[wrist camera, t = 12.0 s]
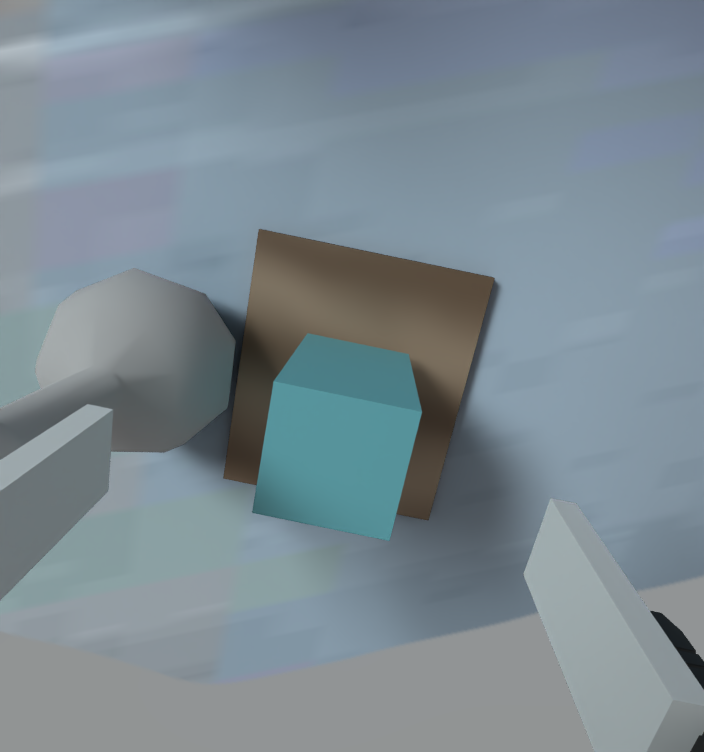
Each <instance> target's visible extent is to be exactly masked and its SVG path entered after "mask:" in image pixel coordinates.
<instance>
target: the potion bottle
mask: <svg viewBox="0 0 704 752" xmlns="http://www.w3.org/2000/svg"><path fill="white" fill-rule="evenodd" d="M235 343H236V341H235V339H234V337H233V336H232V334H231V333H230V331H229V330H228V328H227V327H226V325H225V323H224V322H223V320H222V319H221V317H220V316H219V314H218V313H217V311H216V310H215V308H214V306H213V305H212V303H211V302H210V300H209V299H208V297H207V296H206V294H204V293H201V292H199V291H196V290H193V289H191V288H188V287H185V286H182V285H180V284H177V283H174V282H171V281H169V280H166V279H163V278H160V277H158V276H155V275H152V274H149V273H147V272H144V271H141V270H138V269H136V268H133V269H130V270H128V271H125V272H123V273H120V274H117V275H115V276H112V277H110V278H107V279H105V280H102V281H100V282H97V283H95V284H92V285H90V286H87V287H85V288H82V289H80V290H77V291H75V292H74V293H73V294H72V295H70V296H69V297H68V298H67V299H65V300H64V301H63V302H62V303H60V304H59V305H58V307H57V310H56V312H55V315H54V317H53V320H52V322H51V325H50V327H49V330H48V332H47V335H46V337H45V340H44V342H43V345H42V347H41V349H40V352H39V354H38V357H37V361H36V368H35V373H36V376H37V379H38V382H39V385H40V388H41V389H39V390H37V391H35V392H33V393H31V394H29V395H27V396H24V397H22V398H20V399H18V400H16V401H14V402H12V403H10V404H7V405H5V406H3V407H1V408H0V460H1V459H3V458H4V457H6V456H7V455H9V454H11V453H12V452H14V451H15V450H17V449H18V448H20V447H21V446H23V445H25V444H26V443H28V442H29V441H31V440H32V439H34V438H35V437H37V436H39V435H40V434H42V433H43V432H45V431H46V430H48V429H49V428H51V427H53V426H54V425H56V424H57V423H59V422H60V421H62V420H63V419H65V418H67V417H68V416H70V415H71V414H73V413H74V412H76V411H77V410H79V409H81V408H82V407H84V406H85V405H87V404H89V405H94V406H99V407H104V408H109V409H113V422H112V438H111V451H113V452H166V451H169V450H171V449H174V448H176V447H179V446H181V445H183V444H185V443H186V442H187V441H189V440H190V439H191V438H192V437H193V436H195V435H196V434H197V433H198V432H199V431H201V430H202V429H203V428H204V427H205V426H206V425H208V424H209V423H210V422H211V421H212V420H214V419H215V418H216V417H217V416H218V415H220V414H221V413H222V412H223V411H224V410H226V409H227V408H228V402H229V395H230V388H231V379H232V370H233V361H234V352H235Z"/></svg>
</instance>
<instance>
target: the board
mask: <svg viewBox="0 0 704 752" xmlns="http://www.w3.org/2000/svg"><path fill="white" fill-rule="evenodd" d="M493 282H494V278H493V277H489V276H484V275H479V274H474V273H470V272H465V271H460V270H455V269H450V268H445V267H441V266H436V265H431V264H426V263H421V262H417V261H412V260H407V259H402V258H397V257H392V256H388V255H383V254H378V253H373V252H368V251H363V250H359V249H354V248H349V247H344V246H339V245H335V244H330V243H325V242H320V241H315V240H310V239H306V238H301V237H296V236H291V235H286V234H281V233H277V232H272V231H267V230H262V229H259V232H258V239H257V246H256V253H255V260H254V267H253V274H252V281H251V288H250V295H249V302H248V309H247V316H246V323H245V330H244V337H243V344H242V351H241V358H240V365H239V372H238V379H237V386H236V393H235V400H234V407H233V414H232V421H231V428H230V435H229V442H228V449H227V456H226V463H225V470H224V477H223V478H224V479H229V480H234V481H239V482H243V483H248V484H253V485H257V480H258V474H259V468H260V462H261V456H262V450H263V444H264V437H265V431H266V425H267V419H268V413H269V407H270V401H271V395H272V389H273V382H274V380H275V379H276V377H277V376H278V374H279V373H280V372H281V370H282V369H283V367H284V366H285V365H286V363H287V362H288V360H289V359H290V357H291V356H292V355H293V353H294V352H295V350H296V349H297V347H298V346H299V345H300V343H301V342H302V340H303V339H304V338H305V336H306V335H307V333H309V334H314V335H319V336H324V337H328V338H333V339H338V340H343V341H348V342H353V343H357V344H362V345H367V346H372V347H377V348H382V349H387V350H391V351H396V352H401V353H406V354H409V358H410V362H411V366H412V371H413V375H414V379H415V384H416V388H417V392H418V397H419V401H420V405H421V410H422V414H421V418H420V422H419V426H418V430H417V434H416V438H415V442H414V446H413V450H412V453H411V457H410V461H409V465H408V469H407V473H406V477H405V481H404V485H403V489H402V493H401V497H400V501H399V505H398V509H397V513H396V514H399V515H404V516H409V517H414V518H419V519H424V520H429V516H430V512H431V509H432V505H433V501H434V498H435V494H436V490H437V487H438V483H439V479H440V476H441V472H442V468H443V465H444V461H445V457H446V454H447V450H448V447H449V443H450V439H451V436H452V432H453V428H454V425H455V421H456V417H457V414H458V410H459V406H460V403H461V399H462V395H463V392H464V388H465V384H466V381H467V377H468V373H469V370H470V366H471V362H472V359H473V355H474V352H475V348H476V344H477V341H478V337H479V333H480V330H481V326H482V322H483V319H484V315H485V311H486V308H487V304H488V300H489V297H490V293H491V289H492V286H493Z"/></svg>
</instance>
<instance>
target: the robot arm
mask: <svg viewBox="0 0 704 752" xmlns="http://www.w3.org/2000/svg"><path fill="white" fill-rule="evenodd" d="M112 422H113V409H109V408H104V407H99V406H94V405H89V404H87V405H85V406H84V407H82V408H81V409H79V410H77V411H76V412H74V413H73V414H71V415H70V416H68V417H67V418H65V419H63V420H62V421H60V422H59V423H57V424H56V425H54V426H53V427H51V428H49V429H48V430H46V431H45V432H43V433H42V434H40V435H39V436H37V437H35V438H34V439H32V440H31V441H29V442H28V443H26V444H25V445H23V446H21V447H20V448H18V449H17V450H15V451H14V452H12V453H11V454H9V455H7V456H6V457H4V458H3V459H1V460H0V600H1V599H2V598H3V597H4V596H5V595H6V594H7V593H8V592H9V591H10V590H11V589H12V588H13V587H14V586H15V585H16V584H17V583H18V582H19V581H20V580H21V579H22V578H23V577H24V576H25V575H26V574H27V573H28V572H29V571H30V570H31V569H32V568H33V567H34V566H35V565H36V564H37V563H38V562H39V561H40V560H41V559H42V558H43V557H44V556H45V555H46V554H47V553H48V552H49V551H50V550H51V549H52V548H53V547H54V546H55V545H56V544H57V543H58V542H59V541H60V540H61V539H62V537H63V536H64V535H65V534H66V533H67V532H68V531H69V530H70V529H71V528H72V527H73V526H74V525H75V524H76V523H77V522H78V521H79V520H80V519H81V518H82V517H83V516H84V515H85V514H86V513H87V512H88V511H89V510H90V509H91V508H92V507H93V506H94V505H95V504H96V503H97V502H98V501H99V500H100V499H101V498H102V497H103V496H104V495H105V494H106V493H107V492H108V488H109V471H110V455H111V438H112ZM523 575H524V578H525V580H526V583H527V585H528V588H529V590H530V593H531V595H532V598H533V600H534V603H535V605H536V608H537V610H538V613H539V615H540V618H541V620H542V623H543V625H544V628H545V630H546V632H547V635H548V638H549V640H550V643H551V645H552V647H553V650H554V653H555V655H556V658H557V660H558V662H559V665H560V668H561V670H562V672H563V675H564V677H565V680H566V682H567V685H568V688H569V690H570V693H571V695H572V697H573V700H574V703H575V705H576V707H577V710H578V713H579V715H580V717H581V720H582V722H583V725H584V727H585V730H586V732H587V735H588V737H589V740H590V742H591V745H592V747H593V750H594V752H704V661H703V660H702V659H701V657H700V656H699V655H698V654H696V650H695V649H694V648H693V646H692V645H691V644H690V642H689V641H688V639H687V638H686V637H685V635H684V634H683V632H682V631H681V630H680V629H678V628H677V627H676V626H675V625H674V624H673V623H672V622H670V620H668V619H667V618H666V617H665V616H664V615H663V614H662V613H659V612H654V611H649V609H648V608H647V606H646V605H645V603H644V602H643V600H642V599H641V597H640V596H639V594H638V593H637V592H636V590H635V589H634V587H633V586H632V584H631V583H630V581H629V580H628V578H627V577H626V575H625V574H624V573H623V571H622V570H621V568H620V567H619V565H618V564H617V562H616V561H615V559H614V558H613V556H612V555H611V554H610V552H609V551H608V549H607V548H606V546H605V545H604V543H603V542H602V540H601V539H600V537H599V536H598V535H597V533H596V532H595V530H594V529H593V527H592V526H591V524H590V523H589V521H588V520H587V518H586V517H585V516H584V514H583V513H582V511H581V510H580V508H579V507H578V505H577V504H576V503H572V502H567V501H562V500H557V499H552V498H551V499H550V502H549V505H548V507H547V510H546V513H545V516H544V518H543V521H542V524H541V527H540V530H539V532H538V535H537V538H536V541H535V544H534V546H533V549H532V552H531V555H530V557H529V560H528V563H527V566H526V569H525V571H524V574H523Z"/></svg>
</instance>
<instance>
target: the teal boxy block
mask: <svg viewBox="0 0 704 752" xmlns="http://www.w3.org/2000/svg"><path fill="white" fill-rule="evenodd" d="M421 414H422V410H421V405H420V401H419V397H418V392H417V388H416V384H415V379H414V375H413V371H412V366H411V362H410V358H409V354H406V353H401V352H396V351H391V350H387V349H382V348H377V347H372V346H367V345H362V344H357V343H353V342H348V341H343V340H338V339H333V338H328V337H324V336H319V335H314V334H309V333H307V335H306V336H305V338H304V339H303V340H302V342H301V343H300V345H299V346H298V347H297V349H296V350H295V352H294V353H293V355H292V356H291V357H290V359H289V360H288V362H287V363H286V365H285V366H284V367H283V369H282V370H281V372H280V373H279V374H278V376H277V377H276V379H275V380H274V382H273V389H272V395H271V401H270V407H269V413H268V419H267V425H266V431H265V437H264V444H263V450H262V456H261V462H260V468H259V474H258V480H257V486H256V493H255V499H254V505H253V511H252V513H256V514H261V515H266V516H271V517H275V518H280V519H285V520H290V521H295V522H300V523H305V524H310V525H314V526H319V527H324V528H329V529H334V530H339V531H344V532H349V533H353V534H358V535H363V536H368V537H373V538H378V539H383V540H387V541H390V537H391V533H392V529H393V525H394V521H395V517H396V513H397V509H398V505H399V501H400V497H401V493H402V489H403V485H404V481H405V477H406V473H407V469H408V465H409V461H410V457H411V453H412V450H413V446H414V442H415V438H416V434H417V430H418V426H419V422H420V418H421Z"/></svg>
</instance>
